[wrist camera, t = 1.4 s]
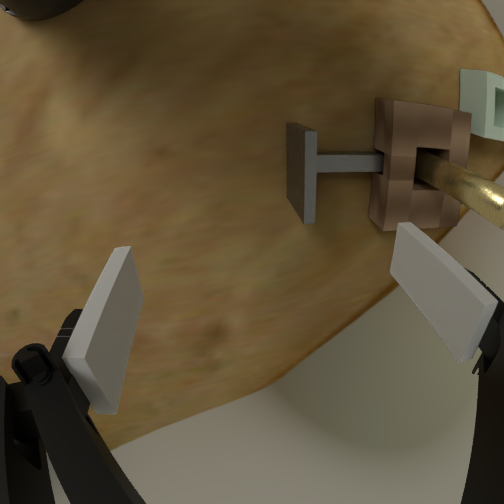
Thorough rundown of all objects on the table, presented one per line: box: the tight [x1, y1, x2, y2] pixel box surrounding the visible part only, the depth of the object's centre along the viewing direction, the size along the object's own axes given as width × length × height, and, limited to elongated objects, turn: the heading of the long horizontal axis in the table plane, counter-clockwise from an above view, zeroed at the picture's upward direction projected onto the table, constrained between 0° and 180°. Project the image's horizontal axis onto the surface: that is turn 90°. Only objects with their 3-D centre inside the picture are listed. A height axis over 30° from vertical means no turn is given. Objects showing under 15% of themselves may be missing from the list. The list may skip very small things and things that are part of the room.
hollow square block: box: [459, 69, 504, 141], centre depth 28 cm, size 8×8×5 cm
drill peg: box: [414, 148, 504, 229], centre depth 27 cm, size 3×3×16 cm
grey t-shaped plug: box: [286, 122, 384, 224], centre depth 29 cm, size 8×10×7 cm
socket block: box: [368, 98, 472, 231], centre depth 32 cm, size 14×11×4 cm
